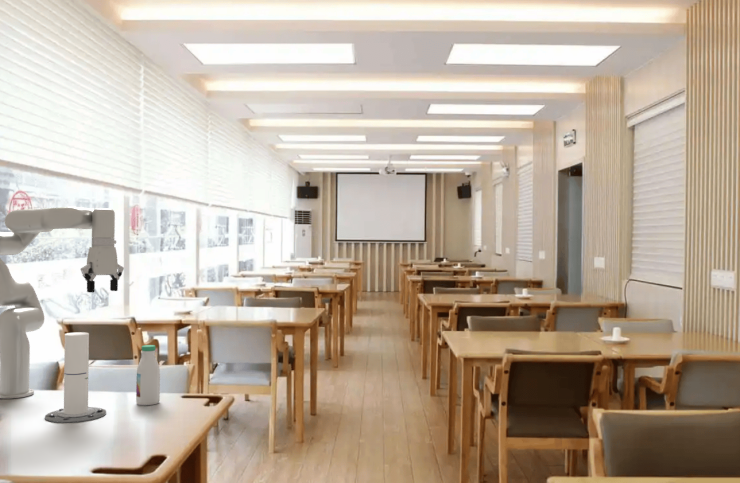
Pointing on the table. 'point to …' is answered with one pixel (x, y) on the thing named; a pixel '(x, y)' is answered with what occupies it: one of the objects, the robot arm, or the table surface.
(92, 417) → the flange
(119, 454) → the table surface
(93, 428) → the table surface
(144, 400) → the milk bottle
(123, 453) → the table surface
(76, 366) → the cylindrical container
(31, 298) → the robot arm
